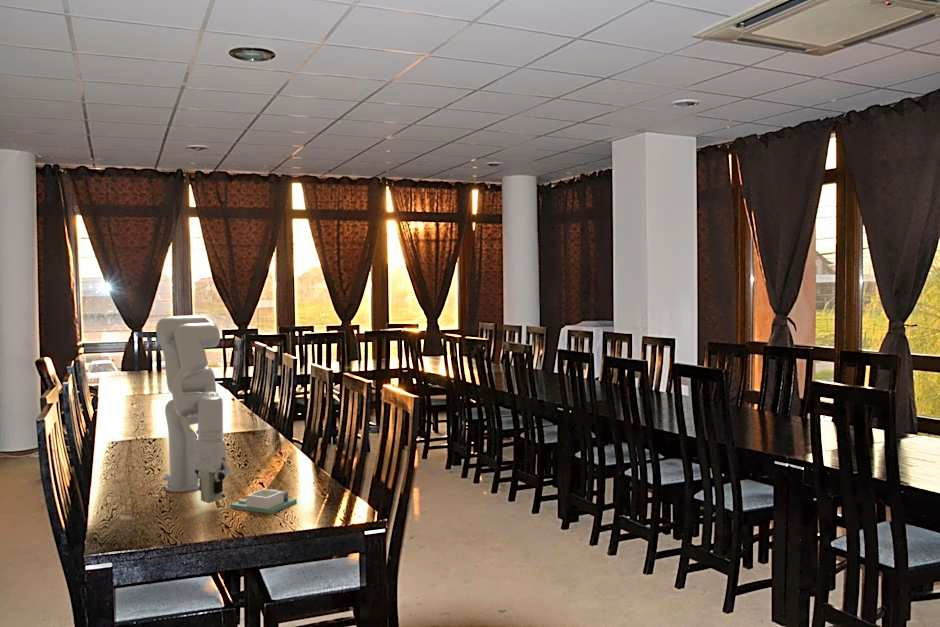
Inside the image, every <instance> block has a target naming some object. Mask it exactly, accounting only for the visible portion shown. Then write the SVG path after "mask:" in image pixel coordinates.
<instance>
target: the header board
mask: <svg viewBox="0 0 940 627" xmlns="http://www.w3.org/2000/svg"><path fill="white" fill-rule="evenodd" d="M283 492H284V502H283V503H281V504H278V505H276V506H274V507H271V508H269V509H264V508H256V507H249V506H247V500H246V498H243V499H242V498H240V499H239V500H238V501H235V502H233V503H230V508H231V509H234V510H235V509H236V510H240V511H241V510H242V511H248V510H249V512H254V513H255V512H257V513H262V514H271V515H272V514H276V513H278V512H280V511H282V510H284V509H286V508H288V507H290V506H293V505H295V504H297V498H290V497H289V491H283Z"/></svg>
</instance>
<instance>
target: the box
mask: <svg viewBox="0 0 940 627" xmlns="http://www.w3.org/2000/svg"><path fill="white" fill-rule="evenodd" d="M218 475H219V473H218ZM219 476H220V475H219ZM215 481H216V479H215V475H214V473H209V472H208V469H205V471H204V472H202V471H200V483H201V491H200V501H201V502H204V503H207V504H210V503H213V502H217V501H220V500H222V498H223V494H222V493H223V491H222V492H220V493H218V494H215V493H214V482H215Z"/></svg>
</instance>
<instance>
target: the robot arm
mask: <svg viewBox="0 0 940 627" xmlns="http://www.w3.org/2000/svg"><path fill="white" fill-rule="evenodd" d="M156 338H157V342H158V344H159V346H160V348H161V351H162V354H163V358H164V365H165V375H166V376H165V377H166V384H167V390H168V391H169V393H171V395H172V399H171V400H169V401H168V402H167V403H166V405H165V408H164V413H165V419H166V424H167V432H168V433H167V434H168V453H169V454H168V458H169V460H168V462H169V473H165V474H164V476H162V481H166V482H167V484H166V485H165V486H164V488H165V491H167V492H171V493H186V492H193V491H197V490H199V492H201V483H200V471H202V472H204V471H205V469H208V472H209V473H214V475H215V479H216V481H215V482H214V493H215V494H218V493H220V492H222V493H223V489H224V486H223V484H224V483H223V481H224V480H225V478H226V477H227V476H228V475H229V474H230V473H231V471H232V470H231V469H230V467H229V465H228V457H227V456H228V455H227V447H226V442H225V439H224V425H223V424H224V419H223V418H224V417H223V416H224V415H223V414H224V412H223V411H224V410H223V408H224V407H223V405H224V404H223V399H222V397H221V396H220V395H219V394H218V393H217V386H216V380H215V379H216V377H215V373H214V371H213V369H212V368H211V367H210V366H208V363H209V362H208V361H209V360H208V357H207V354H206V353H207V352H206V349H205V348H215V347H217V346H219V344H220V340H221V334H220V329H219V328H218V326H217V325H216V323H215V322H214V321H213V320H212V319H210V317H208V316H206V315H175V316H174V315H173V316H166V317H162V318H160V319H159V320H158V322H156ZM191 425H197V430H196V431H195V430H193V429H192V428H191ZM218 473H219V475H220V476H219V475H218Z"/></svg>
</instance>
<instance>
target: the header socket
mask: <svg viewBox="0 0 940 627" xmlns="http://www.w3.org/2000/svg"><path fill="white" fill-rule="evenodd" d="M284 492H285V491H282V490H277V489H272V488H271V489H267V488H261V489H259V490H256V491H253V492H252V493H249V494H246V500H247V506H249V507H256V508H264V509H269V508H271V507H274V506H276V505H278V504H281V503H283V502H284Z"/></svg>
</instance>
